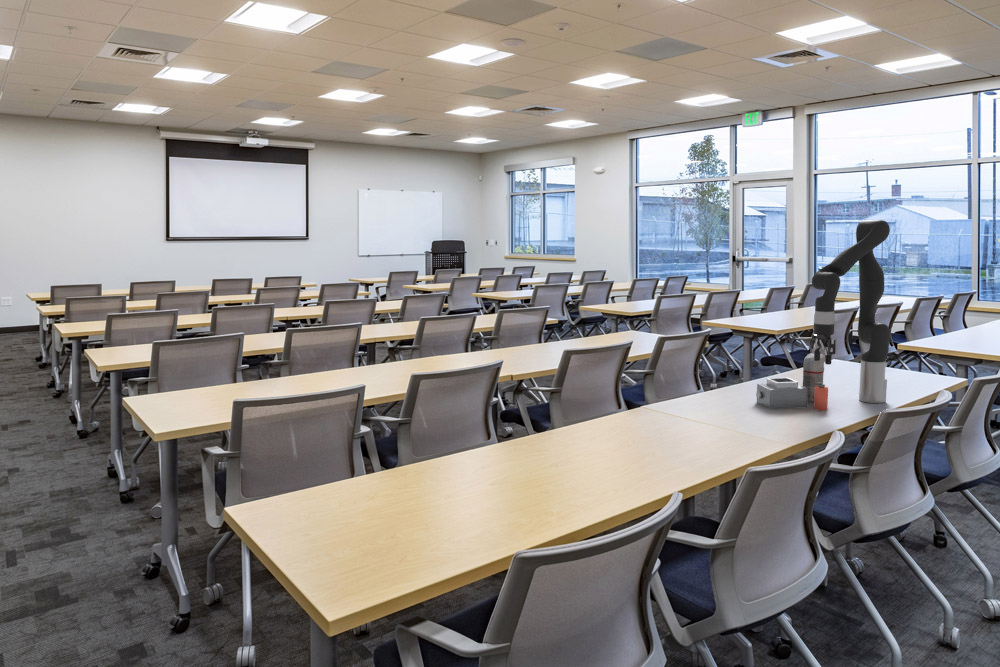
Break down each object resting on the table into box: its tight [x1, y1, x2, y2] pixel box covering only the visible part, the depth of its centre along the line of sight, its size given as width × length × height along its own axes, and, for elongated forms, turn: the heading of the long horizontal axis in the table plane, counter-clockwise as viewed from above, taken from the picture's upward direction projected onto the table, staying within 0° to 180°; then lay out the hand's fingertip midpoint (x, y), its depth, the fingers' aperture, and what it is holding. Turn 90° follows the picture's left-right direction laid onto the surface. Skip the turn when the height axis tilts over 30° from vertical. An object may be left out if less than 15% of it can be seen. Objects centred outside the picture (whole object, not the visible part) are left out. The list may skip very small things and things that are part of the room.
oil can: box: [813, 382, 829, 412], centre depth 288 cm, size 5×5×11 cm
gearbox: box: [755, 377, 808, 410], centre depth 296 cm, size 17×12×10 cm
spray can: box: [802, 352, 825, 403], centre depth 301 cm, size 8×8×20 cm
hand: (822, 362), depth 286 cm, fingers open, 8 cm apart
